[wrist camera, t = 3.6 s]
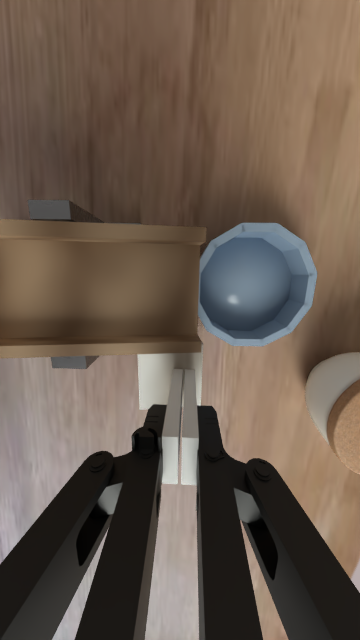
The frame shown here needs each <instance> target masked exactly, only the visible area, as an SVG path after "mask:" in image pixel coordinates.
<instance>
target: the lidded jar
mask: <svg viewBox="0 0 360 640" xmlns="http://www.w3.org/2000/svg"><path fill="white" fill-rule="evenodd" d="M305 402H306V406H307V410H308V413H309V415H310V417H311V419H312V421H313V423H314V424H315V426H316V428H317V429H318V431H319V432H320V434H321V435H322V436H323V438H324V439H325V440H326V442H327V443H328V444H329V445H330V446H331V448H332V450H333V452H334V453H335V454H336V456H337V457H338V458H339V459H340V460H341V461H342V463H343V464H344V465H345V466H346V467H348V468H349V469H350V470H352V471H354V472H355V473H357V474H359V475H360V352H350V353H343V354H339V355H336V356H333V357H330V358H328V359H325V360H323V361H321V362H320V363H318V364H317V365H316V366H315V367H314V368H313V369H312V370H311V372H310V374H309V376H308V380H307V383H306V387H305Z"/></svg>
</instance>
